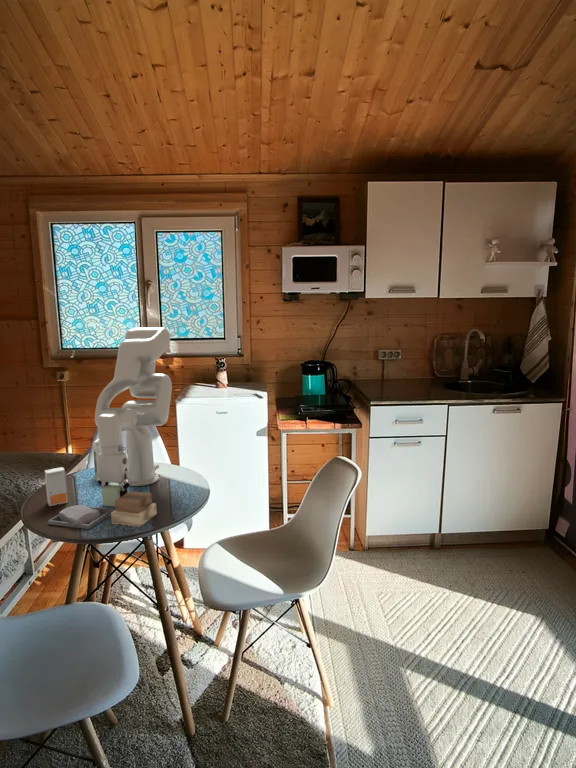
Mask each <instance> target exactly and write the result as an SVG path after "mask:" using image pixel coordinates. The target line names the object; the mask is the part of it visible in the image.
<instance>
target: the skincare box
mask: <svg viewBox="0 0 576 768" xmlns="http://www.w3.org/2000/svg"><path fill="white" fill-rule="evenodd" d="M44 479H45V480H44V481H45V489H46V491H45V492H46V500H47V504H48V506H49V507H53V506H58V505H63V504H67V503H69V501H68V492H67V491H68V490H67V479H66V470H65V468H64V467H63V466H62V467H61V466H60V467H56V468H51V469H50V468H49V469H45V470H44ZM57 504H58V505H57Z"/></svg>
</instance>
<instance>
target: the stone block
mask: <svg viewBox="0 0 576 768" xmlns="http://www.w3.org/2000/svg"><path fill="white" fill-rule="evenodd" d="M90 507H91V506H88V507H87V506H86V505H83V504H82V505H81V504H80V505H79V504H78V506H75V505H72V506H68V507H66V508H64V509H62V510H61V511H59V512H58V515H59V519H58V520H59V521H62V522H70V523H73V524H74V527H73V528H75V527H76V525H77V524H87V525H88V524H90V523H91V522H93V521H95V520H96V519H98V518H99V517H100V512H99V510H97V509H92V508H90Z"/></svg>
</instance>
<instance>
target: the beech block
mask: <svg viewBox="0 0 576 768" xmlns="http://www.w3.org/2000/svg"><path fill="white" fill-rule="evenodd" d="M157 510H158V509H157V503H156V502H152V504H151V505H149V506H148V507H147V508H145V509H144V510H142V511H141V512H140V513H138V514H137V513H127V512H118V511H116V509H113V512H111V515H110V518H111V519H110V520H111V524H112V525H118V524H121V526H126V525H128V526H127V527H135V526H137V528H141V527H142V526H143V525H144V524H146V523H147V522H149V521H150V520H151V519H152V518H153V517H155V516H156V515H157V514H158V511H157ZM141 525H142V526H141Z"/></svg>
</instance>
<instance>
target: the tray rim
mask: <svg viewBox="0 0 576 768" xmlns="http://www.w3.org/2000/svg"><path fill="white" fill-rule="evenodd" d="M78 505H79V504H78ZM78 505H77V504H74V506H78ZM87 507H90V508H92V509H97V510H99V513H103V514H102V515H101V516H98V518H97V519H96V520H95V521H93V522H91V523H88V524H77V525H76V527H74V524H73V523H70V522H63V521H61V520H60V519H59V514H58V515H55V516H54V517H52V518H50V519H48V520H47V524H48V525H53V526H60V527H67V528H68V527H69V528H77V529H83V530H90V529H92V528H93V527H94V526H96V525H97V524H99V523H100V522H102V521H103V520H105V519H107V518H108V517H109V516H111V512H113V511H114V509H113V508H105V507H104V508H103V507H95V506H87Z"/></svg>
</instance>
